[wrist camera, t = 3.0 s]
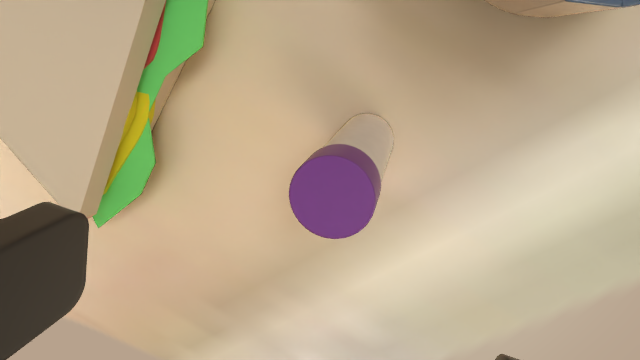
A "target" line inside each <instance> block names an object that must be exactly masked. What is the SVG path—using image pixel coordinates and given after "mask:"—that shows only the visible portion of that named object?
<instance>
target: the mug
mask: <svg viewBox="0 0 640 360" xmlns="http://www.w3.org/2000/svg"><path fill="white" fill-rule="evenodd" d="M484 1H486V2H487V3H489V4H490V5H492V6H494V7H496V8H499V9H501V10H503V11H506V12H509V13H512V14H516V15H522V16H528V17H541V18H550V17H557V16H565V15H572V14H580V13H587V12H595V11H602V10H610V9H617V8H625V7H630V6H635V5H640V0H484Z"/></svg>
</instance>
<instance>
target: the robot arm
mask: <svg viewBox="0 0 640 360" xmlns="http://www.w3.org/2000/svg"><path fill="white" fill-rule="evenodd" d="M88 231H89V223H88V219H87V217H86V216H85V215H84V214H82V213H80V212H77V211H74V210H71V209H68V208H65V207H62V206H59V205H56V204H53V203H50V202H42V203H39V204H37V205H35V206H32V207H30V208H27V209H25V210H23V211H20V212H18V213H16V214H13V215H11V216H9V217H6V218H4V219H0V360H6V359H7V358H9V357H10V356H12V355H13V354H14V353H16V352H17V351H18V350H20V349H21V348H22V347H24V346H25V345H26V344H27V343H29V342H30V341H31V340H33V339H34V338H35V337H37V336H38V335H39V334H41V333H42V332H43V331H44V330H46V329H47V328H49V327H50V326H51V325H53V324H54V323H55V322H56V321H58V320H59V319H60V318H62V317H63V316H64V315H66V314H67V313H68V312H69V311H70V310H71V309H72V308H73V307H74V306H75V305H76V303H77V302H78V300H79V299H80V297H81V295H82V292H83V290H84V286H85V281H86V265H87V248H88ZM495 360H519V359H516V358H513V357H510V356H507V355H504V354H500V355H499V356H497V358H496V359H495Z"/></svg>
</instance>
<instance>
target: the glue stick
mask: <svg viewBox="0 0 640 360" xmlns="http://www.w3.org/2000/svg"><path fill="white" fill-rule="evenodd" d="M393 144H394V136H393V132H392V129H391V127H390V126H389V124H388V123H387V122H386V121H385V120H384V119H382V118H381V117H379V116H377V115H374V114H368V113H365V114H359V115H356V116H354V117H352V118H351V119H350V120H349V121H347V123H346V124H345V125H344V126H343V127H342V128H341V129H340V130H339V131H338V132H337V133H336V134H335V135H334V136H333V137H332V138H331V139H330V140H329V141H328V142H327V143H326V145H325V146H324V147H323V148H321V149H319V150H317V151H316V152H315V153H313V154H312V155H311V156H310V157H309V158H308V159H307V160H306V161H305V162H304V163H303V164H302V165H301V166H300V168H299V169H298V170H297V171H296V173H295V174H294V176H293V178H292V180H291V184H290V189H289V199H290V204H291V208H292V210H293V213H294V214H295V216H296V218H297V219H298V221H299V222H300V223H301V224H302V225H303V226H304V227H305V228H306V229H308V230H309V231H311V232H312V233H314V234H316V235H319V236H321V237H325V238H331V239H339V238H346V237H349V236H352V235H354V234H356V233H358V232H359V231H361V230H362V229H363V228H364V227H365V226H366V225H367V224H368V222H369V221H370V219H371V218H372V216H373V213H374V210H375V207H376V204H377V201H378V198H379V195H380V190H381V181H382V178H383V175H384V172H385V169H386V166H387V163H388V160H389V157H390V154H391V151H392V148H393Z"/></svg>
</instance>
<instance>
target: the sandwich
mask: <svg viewBox="0 0 640 360" xmlns="http://www.w3.org/2000/svg"><path fill="white" fill-rule="evenodd" d="M214 2H215V0H0V139H1V140H2V141H3V142H4V143H5V144H6V145H7V146H8V148H9V149H10V150H11V151H12V152H13V153H14V154H15V156H16V157H17V158H18V159H19V160H20V161H21V162H22V164H23V165H24V166H25V167H26V168H27V169H28V170H29V171H30V173H31V174H32V175H33V176H34V177H35V178H36V179H37V181H38V182H39V183H40V184H41V185H42V186H43V187H44V188H45V190H46V191H47V192H48V193H49V194H50V195H51V196H52V198H53V199H54V200H55V201H56V202H57V203H58V204H59V206H62V207H65V208H68V209H71V210H74V211H77V212H80V213H82V214H84V215H85V216H86V217H87V219H88V218H90V217H93V219H94V221H95V223H96V225H97V227H98V228H99V227H101V226H102V225H103V224H104V223H106V222H107V221H108V220H109V219H111V218H112V217H113V216H114V215H116V214H117V213H118V212H119V211H121V210H122V209H123V208H124V207H126V206H127V205H128V204H130V203H131V202H132V201H133V200H135V199H136V198H137V197H138V196H140V195H141V194H142V192H143V189H144V187H145V185H146V183H147V181H148V179H149V176H150V174H151V172H152V170H153V168H154V165H155V163H156V160H155V154H154V147H153V141H152V134H151V131H152V129H153V127H154V125H155V123H156V121H157V119H158V117H159V115H160V113H161V111H162V109H163V107H164V105H165V103H166V101H167V98H168V96H169V94H170V92H171V90H172V88H173V86H174V84H175V82H176V80H177V78H178V76H179V74H180V72H181V70H182V68H183V66H184V64H185V61H186V60H187V59H188V58H189V57H191V56H192V55H193V54H194V53H196V52H197V51H198V50H199V49H201V48H202V47H203V44H204V35H205V27H206V18H207V16H208V14H209V12H210V10H211V8H212V6H213V4H214Z"/></svg>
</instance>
